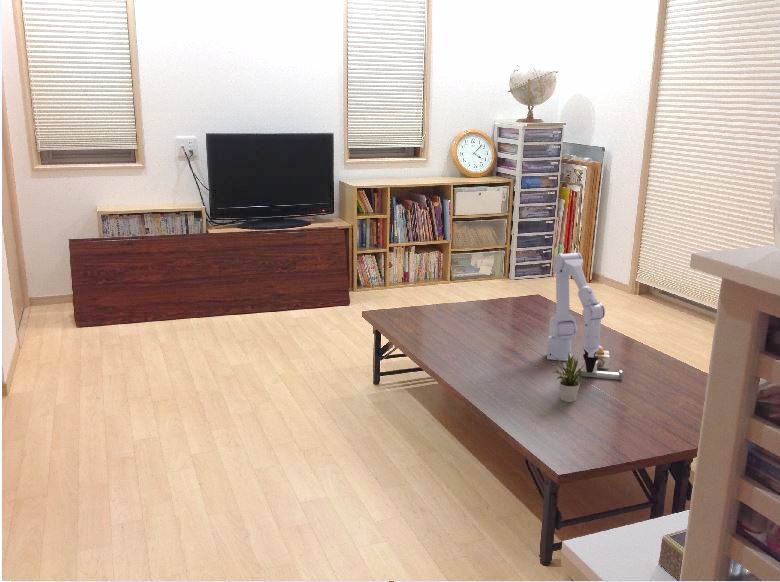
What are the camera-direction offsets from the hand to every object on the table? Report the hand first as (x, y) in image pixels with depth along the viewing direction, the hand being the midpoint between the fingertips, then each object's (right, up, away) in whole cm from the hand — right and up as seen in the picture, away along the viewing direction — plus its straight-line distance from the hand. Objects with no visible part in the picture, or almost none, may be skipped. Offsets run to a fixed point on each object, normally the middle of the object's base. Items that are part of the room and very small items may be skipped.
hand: (589, 368), depth 271 cm
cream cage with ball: (+7, 0, +12) cm, 14 cm away
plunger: (+7, +5, +11) cm, 14 cm away
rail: (+4, -3, 0) cm, 5 cm away
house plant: (-14, -8, -19) cm, 25 cm away
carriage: (0, -3, +1) cm, 3 cm away
